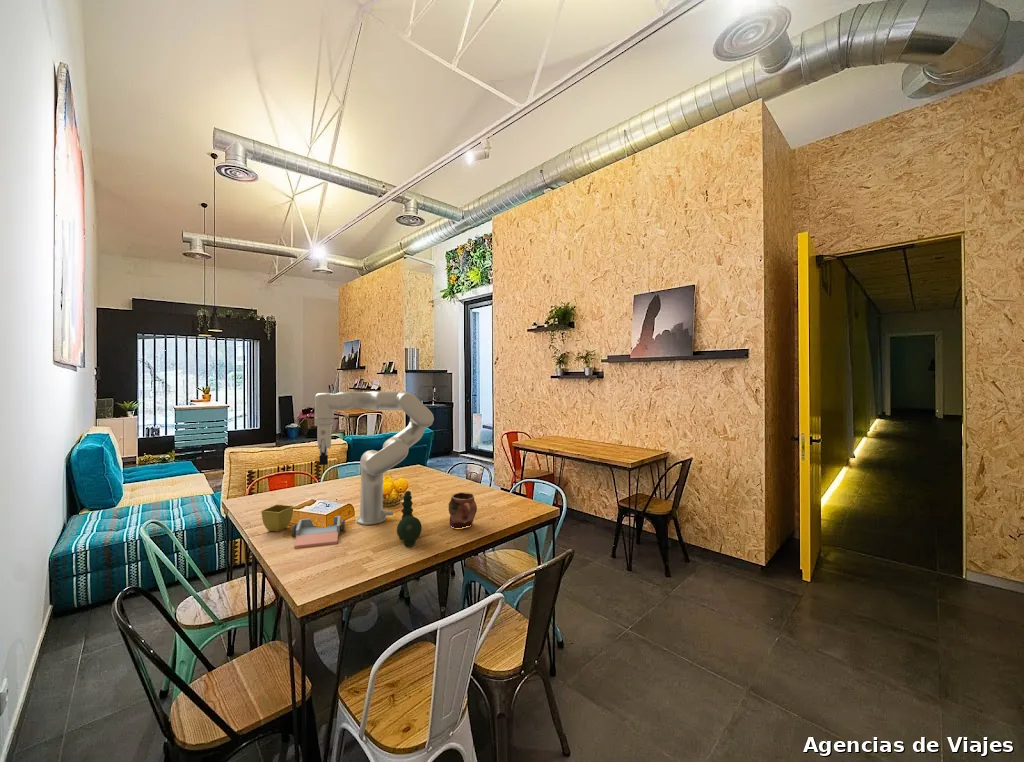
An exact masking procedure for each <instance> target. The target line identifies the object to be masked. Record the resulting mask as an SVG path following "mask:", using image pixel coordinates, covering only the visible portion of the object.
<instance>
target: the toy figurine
mask: <svg viewBox="0 0 1024 762" xmlns="http://www.w3.org/2000/svg"><path fill="white" fill-rule="evenodd" d="M402 499H403V502H402V503H401V505H402V509H401V511H400V512H401V513H402V516H401V519H400V520H399V521H398V524H397V526H396V533H397V536H398V540H400V541H403V545H404V546H405V547H406V546H410V547H412V546H414V545H415V544H416V540H417V539H419V538H420V536H421V533H422V529H423V528H422V527H423V526H422V522H421V520H419V518H417V517H415V516H414V515H413V512H414V509H413V507H412V506H413V504H414V503H413V501H412V499H413V498H412V492H411V491H410V490H406V491H405V493H404V496H403V497H402Z"/></svg>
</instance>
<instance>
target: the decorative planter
mask: <svg viewBox="0 0 1024 762" xmlns="http://www.w3.org/2000/svg"><path fill="white" fill-rule="evenodd" d="M477 511H478V506H477V503H476V500H475V496H474V494H473V493H468V492H467V493H466V492H457V493H456V492H455V493H453V494H452V495H451V497H450V501H449V503H448V513H449V515H450V516H449V525H451V526H452V527H454V528H462V527H466V526H470V525H472V526H473V523H474V519H475V517H476V514H477ZM451 526H450V527H451Z"/></svg>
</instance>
